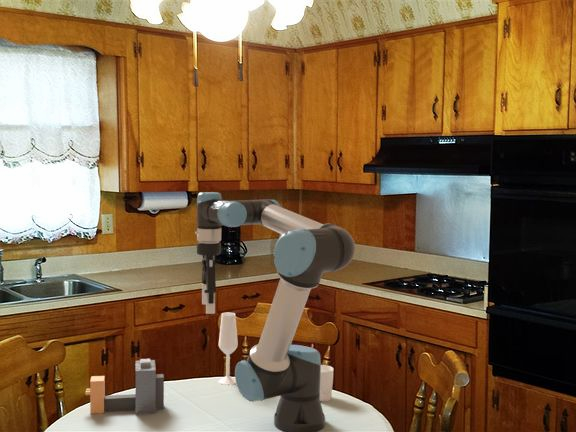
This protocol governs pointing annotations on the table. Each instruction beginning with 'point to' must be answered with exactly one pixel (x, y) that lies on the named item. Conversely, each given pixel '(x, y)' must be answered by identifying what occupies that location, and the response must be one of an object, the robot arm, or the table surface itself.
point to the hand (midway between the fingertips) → (208, 308)
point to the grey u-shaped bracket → (145, 386)
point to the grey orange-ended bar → (118, 396)
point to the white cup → (326, 382)
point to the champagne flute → (228, 342)
